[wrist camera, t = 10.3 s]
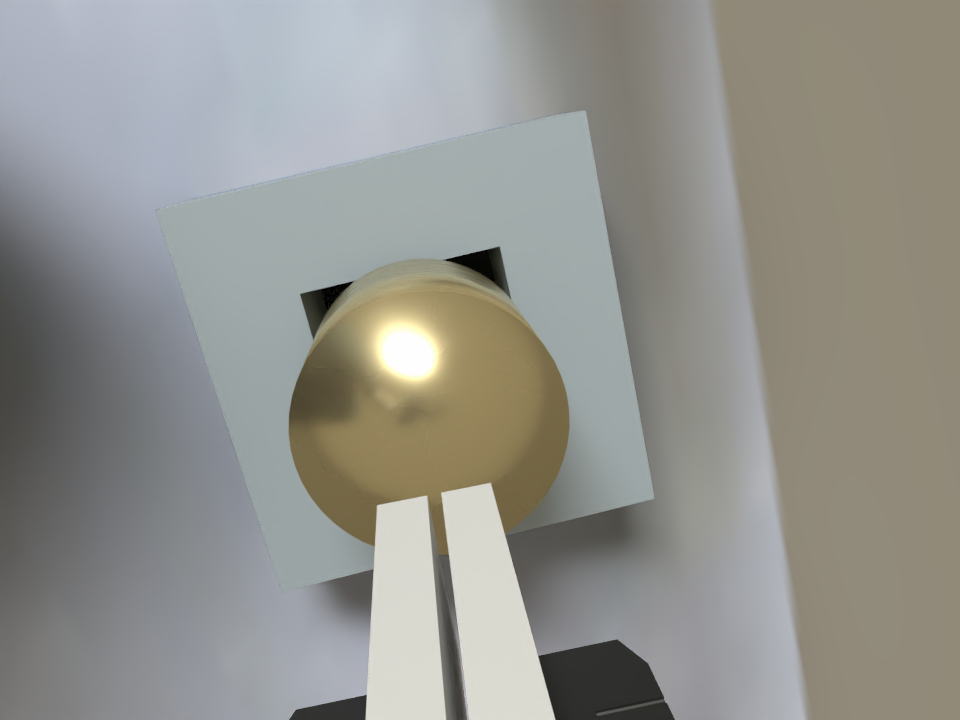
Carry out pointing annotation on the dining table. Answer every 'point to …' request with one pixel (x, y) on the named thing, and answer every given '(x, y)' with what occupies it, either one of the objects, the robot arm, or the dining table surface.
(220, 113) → the dining table surface
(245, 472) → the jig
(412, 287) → the gold cylinder
